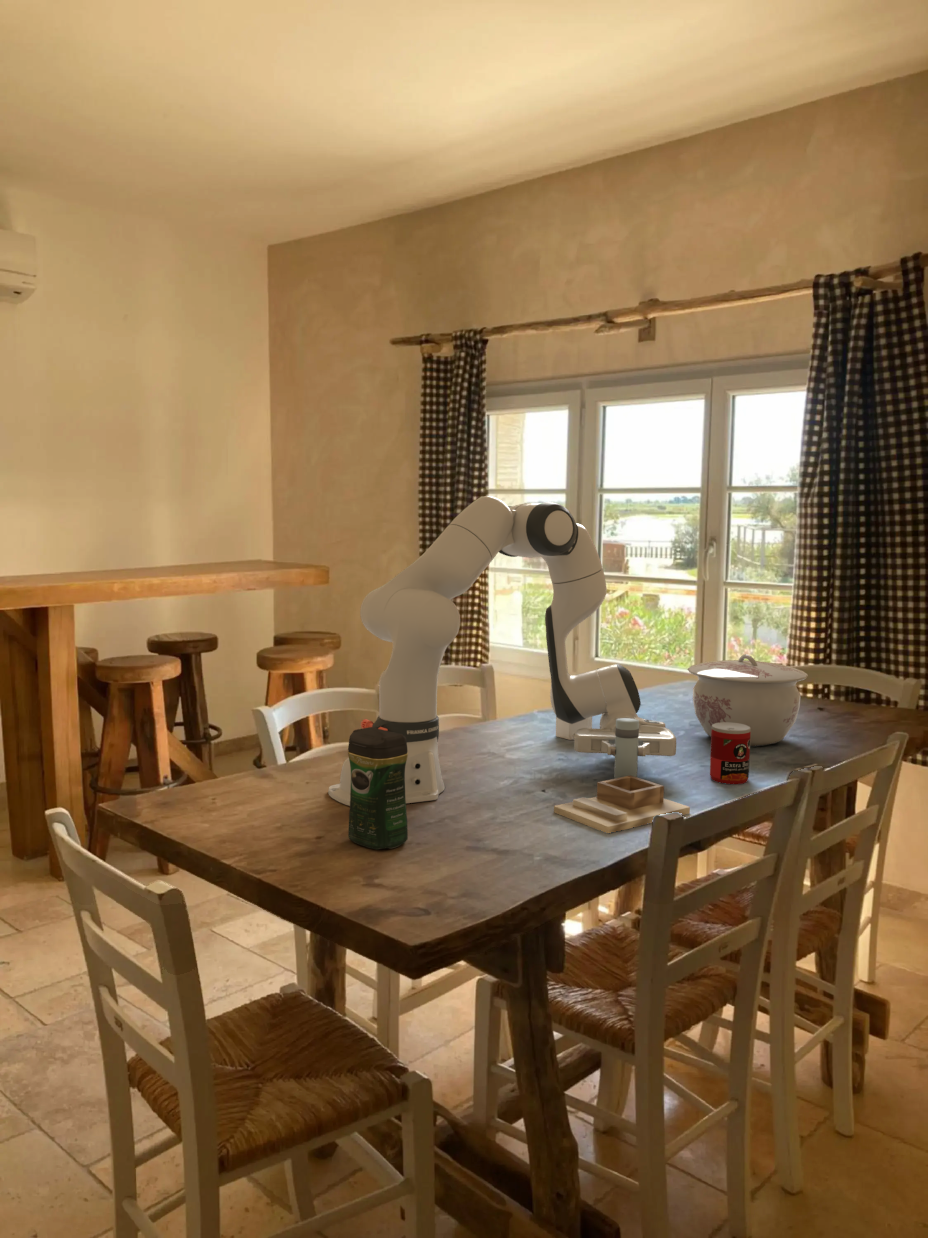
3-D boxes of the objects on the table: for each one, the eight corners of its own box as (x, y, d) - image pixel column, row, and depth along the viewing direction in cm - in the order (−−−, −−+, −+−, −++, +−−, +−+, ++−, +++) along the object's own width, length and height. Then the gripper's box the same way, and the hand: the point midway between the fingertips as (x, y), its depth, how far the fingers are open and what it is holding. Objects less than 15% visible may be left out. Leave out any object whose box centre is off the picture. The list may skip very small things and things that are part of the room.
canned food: (722, 786, 192) (724, 731, 190) (702, 775, 199) (704, 723, 198) (756, 783, 194) (758, 729, 192) (735, 773, 201) (737, 721, 200)
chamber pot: (781, 760, 212) (785, 667, 210) (665, 741, 228) (668, 655, 226) (821, 737, 234) (825, 653, 232) (713, 722, 251) (716, 642, 248)
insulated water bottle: (625, 790, 186) (627, 724, 185) (608, 784, 190) (610, 719, 188) (641, 786, 189) (644, 721, 187) (625, 781, 192) (627, 717, 191)
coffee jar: (416, 843, 157) (416, 730, 155) (378, 855, 151) (378, 738, 149) (377, 829, 164) (377, 721, 161) (340, 840, 158) (339, 728, 156)
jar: (599, 737, 232) (600, 688, 231) (575, 742, 227) (576, 691, 226) (572, 730, 239) (573, 682, 238) (548, 735, 234) (549, 686, 233)
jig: (608, 834, 162) (608, 809, 162) (553, 812, 174) (554, 789, 173) (689, 813, 174) (690, 790, 173) (633, 794, 185) (634, 773, 185)
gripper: (572, 718, 202) (573, 733, 188) (672, 722, 200) (680, 737, 186) (571, 748, 203) (572, 765, 189) (671, 752, 201) (678, 769, 187)
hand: (626, 751), depth 188 cm, fingers closed on insulated water bottle, 4 cm apart
